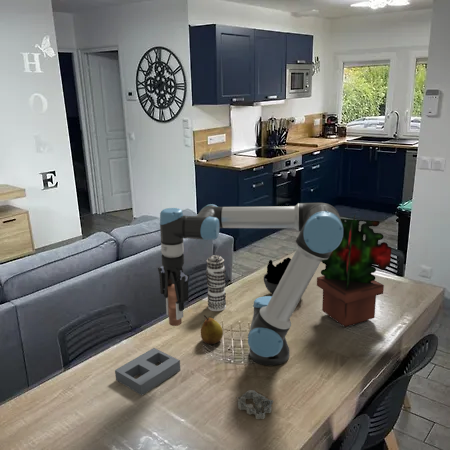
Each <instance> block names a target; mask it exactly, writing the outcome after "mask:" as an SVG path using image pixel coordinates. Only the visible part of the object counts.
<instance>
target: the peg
mask: <svg viewBox="0 0 450 450" xmlns="http://www.w3.org/2000/svg"><path fill="white" fill-rule="evenodd" d="M176 302H177V297H176V291H175V286H174V284H172V285H169V286H168V307H169V315H168V323H169V325H170V326H173V327H177V326H180V325H182V319H183V318H181V319H179V320H177V319H176Z"/></svg>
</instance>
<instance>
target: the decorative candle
mask: <svg viewBox="0 0 450 450" xmlns="http://www.w3.org/2000/svg"><path fill="white" fill-rule="evenodd" d="M206 262H207V264H206V270H205V276H206V286H207V287H208V288H207V306H208V307H207V308H208V310H210V311H213V312H220V311H223V310H226V308H227V299H226V294H227V293H226V289H225V285H226V281H225V280H226V279H227V278H226V271H227V270H226V267H225V265H224V264H225V263H224V262H225V259H224V258H223V257H222V256H221V255H218V254H215V255H214V254H213V255H210V256H209V257H208V258H207V259H206Z"/></svg>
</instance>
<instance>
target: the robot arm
mask: <svg viewBox="0 0 450 450" xmlns="http://www.w3.org/2000/svg"><path fill="white" fill-rule="evenodd" d="M339 213H340V212H339V211H338V209H336V208H335V207H334V206H333V205H331V204H329V203H325V202H300V203H299V202H298V203H297V204H296V205H289V206H288V205H287V206H284V205H283V206H282V205H281V206H280V205H279V206H271V205H270V206H217V205H216V204H213V203H212V204H211V203H210V204H207V205H205V206H203V207H202V208H201V209H200V210H199V212H198V213H197V215H185V214H184V213H183V209H181V208H177V207H169V208H163V209H162V210H161V211H160V213H159V228H160V246H161V247H160V249H161V251H160V253H161V265H162V266H160V267H158V268H157V271H158V274H159V290H160V294H161V295H163V297H164V303H165V307H166V308H165V309H166V310H165V311H166V315H167V316H169V307H168V286H169V285H172V284H174V286H175V291H176V297H177V302H176V319H177V320H179V319H183V318H184V310H185V303H186V302H187V301H189V280H190V275H189V274H185V273H184V269H183V266H184V263H185V254H184V251H185V249H184V248H185V247H184V246H185V245H184V239H188V240H189V239H190V240H191V239H192V240H204V241H211V240H217V239H218V238H219V235H220V229H295V230H296V231H297V232H298V233H299V234H298V236H297V237H296V239H295V244H296V250H295V251H294V254H293V256H292V257H291V258H290V259H291V261H290V263H289V265H288V267H287V269H286V271H285V273H284V274H283V276H282V278H281V280H280V282H279V284H278V286H277V288H276V290H275V292H274V294H272V295H271V296H270V295H265V296H260V297H257V298H255V299H254V300H253V305H252V307H253V316H252V320H251V324H250V328H249V330H248V331H249V332H248V334H247V344H248V347H249V358H251V360H252V361H254V362H255V363H257V364H259V365H262V366H279V365H281V364H284V363H285V362H287V361H288V360H289V358H290V347H289V345H288V342H287V339H286V336H287V335H288V332H289V330H290V329H291V327H292V322H291V319H290V318H291V317H292V316H293V313H294V312H295V310H296V308H297V306H298V304H299V303H300V300H301V299H302V297H303V295H304V293H305V292H306V290H307V288H308V286H309V284H310V283H311V281H312V278H313V277H314V275H315V273H316V271H317V270H318V269H319V266H320V265H321V263H322V262H321V261H322V260H326V259H328V258H329V256H330V255H331V253H332V251H333V250H335V249H336V248H337V247H338V246H339V245H340V243H341V241H342V238H343V225H342V222H341V219H342V218H341V215H340V214H339Z"/></svg>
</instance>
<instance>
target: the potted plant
mask: <svg viewBox="0 0 450 450" xmlns="http://www.w3.org/2000/svg"><path fill="white" fill-rule="evenodd" d="M340 219H341V222H342V225H343V238H342V241H341V243H340V245H339V246H338V247H337V248H336V249H335V250H333V251H332V253H331V255H330V256H329V258H328V259H326V260H322V261H321V262H320V263H322V265H325V267H324V269H321V270H320V274H321V276H317V277H316V286H317V287H318V288H320V289H322V305H321V307H322V308H321V310H322V312H324V313H325V314H326V315H328V316H329V317H330V318H331V319H333V320H334V321H335V322H337V323H338V324H340V325H341V326H343V327H344V328H349V327H352V326H355V325H358V324H362V323H365V322H368V320H372V319H375V316H376V303H377V296H379V295H383V294H384V287H385V285H384V284H383V283H380V282H379V281H377V280H376V276H375V275H373V274H375V273H376V271H377V268H376V267H374V266H378V269H379V270H382V271H384V270H386V269H387V267H390V266H391V258H392V247H391V246H389V244H388V243H387V242H385V241H382V240H383V239H384V234H383V233H381V232H375V231H374V229H373V228H371V227H378V226H379V225H380V221H379V220H368V219H367V220H366V219H356V214H354V216H353V218H340ZM361 222H363V223H362V224H361V225H360V223H361ZM364 236H365V237H364ZM379 241H382V242H381V243H380V245H379Z"/></svg>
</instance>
